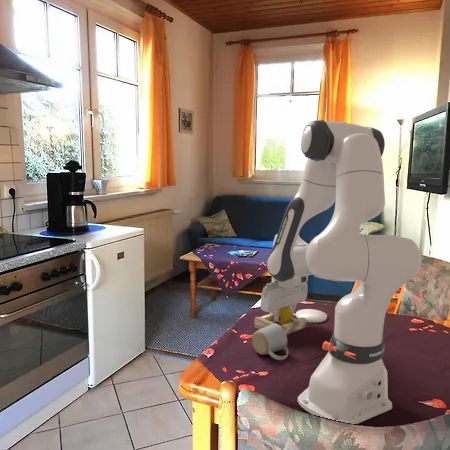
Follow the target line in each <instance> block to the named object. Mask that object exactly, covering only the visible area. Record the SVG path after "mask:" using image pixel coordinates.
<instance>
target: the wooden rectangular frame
mask: <svg viewBox="0 0 450 450" xmlns="http://www.w3.org/2000/svg"><path fill="white" fill-rule="evenodd" d="M271 324H278V325H280V326H281V327H282V328H283V329H284V331H285V333H286V336H288V335H290V334H291V333H294V332H297V331H300V330H302V329H305V328H307V327H306V325H307V322H306V318H303V317H302V318H299V319H297V318H294V317H292V319H291V321H290V322H289V323H286V324H283V325H282V324H280V323H277V322H276V321H274V316H273V314H272V312H270V313H268V314H265V315H262V316H255V317H254V328H255V329H257V330H260V329H262V328H264V327H267V326H269V325H271Z"/></svg>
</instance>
